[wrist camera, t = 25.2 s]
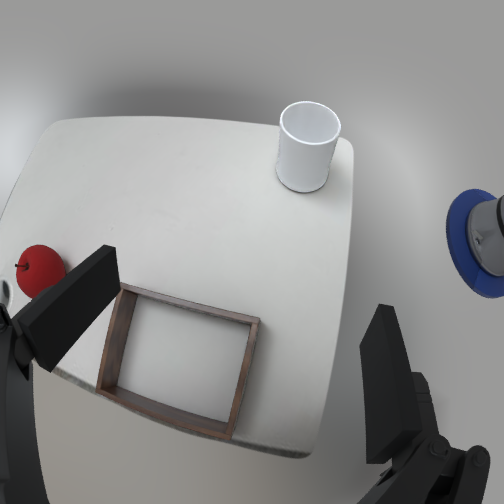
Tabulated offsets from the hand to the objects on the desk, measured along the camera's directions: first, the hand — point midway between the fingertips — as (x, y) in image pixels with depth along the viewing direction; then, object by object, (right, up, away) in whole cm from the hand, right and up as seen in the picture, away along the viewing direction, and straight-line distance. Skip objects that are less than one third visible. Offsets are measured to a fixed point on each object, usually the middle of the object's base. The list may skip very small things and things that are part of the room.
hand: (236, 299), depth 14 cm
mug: (+9, +17, +34) cm, 39 cm away
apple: (-34, -3, +30) cm, 46 cm away
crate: (-9, -13, +25) cm, 30 cm away
